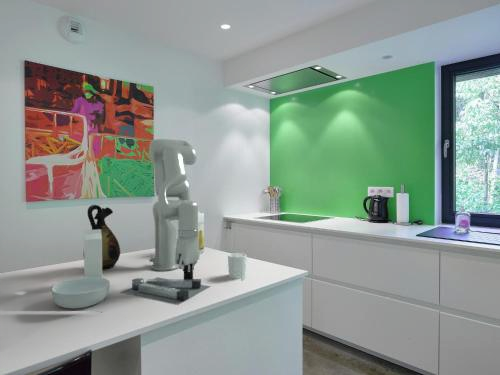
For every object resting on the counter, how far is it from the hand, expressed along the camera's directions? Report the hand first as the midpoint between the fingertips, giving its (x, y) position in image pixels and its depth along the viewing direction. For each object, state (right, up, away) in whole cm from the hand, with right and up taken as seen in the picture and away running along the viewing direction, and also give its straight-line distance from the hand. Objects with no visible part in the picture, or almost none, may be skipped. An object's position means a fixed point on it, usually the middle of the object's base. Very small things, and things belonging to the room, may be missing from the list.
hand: (188, 281), depth 126 cm
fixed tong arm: (-7, -1, -12) cm, 14 cm away
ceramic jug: (-44, -2, +23) cm, 50 cm away
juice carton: (-7, -1, +56) cm, 57 cm away
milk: (-37, -2, +1) cm, 37 cm away
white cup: (+18, -2, +11) cm, 22 cm away
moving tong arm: (-7, -1, -4) cm, 9 cm away
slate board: (-7, -3, -5) cm, 9 cm away
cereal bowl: (-32, -3, -18) cm, 37 cm away
